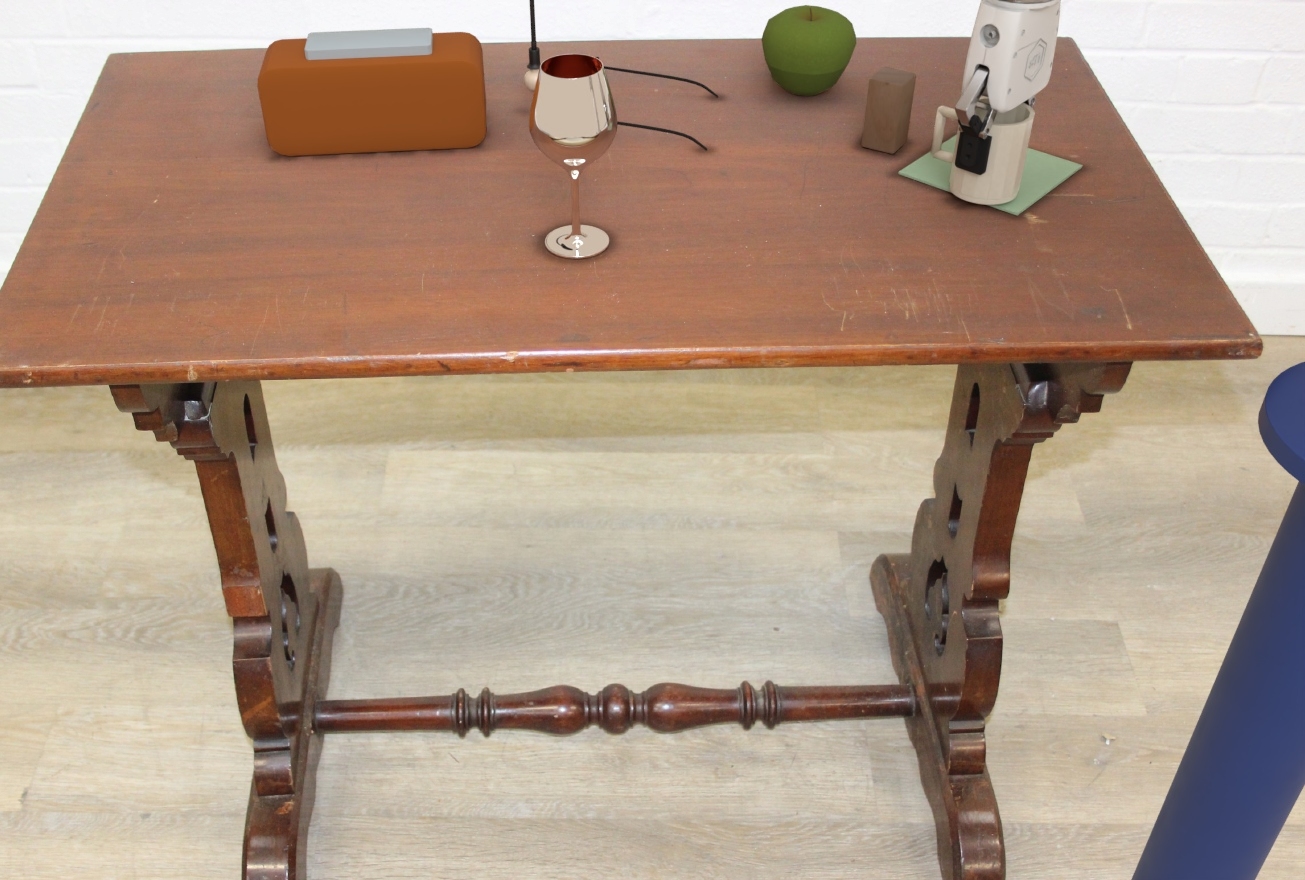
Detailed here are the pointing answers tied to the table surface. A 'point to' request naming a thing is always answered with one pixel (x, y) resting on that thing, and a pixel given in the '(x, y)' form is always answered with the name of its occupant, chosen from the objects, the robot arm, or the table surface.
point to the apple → (808, 48)
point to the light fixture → (532, 54)
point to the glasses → (668, 78)
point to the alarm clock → (373, 92)
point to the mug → (989, 155)
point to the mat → (1035, 182)
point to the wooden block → (888, 109)
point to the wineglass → (573, 136)
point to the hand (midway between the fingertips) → (989, 155)
